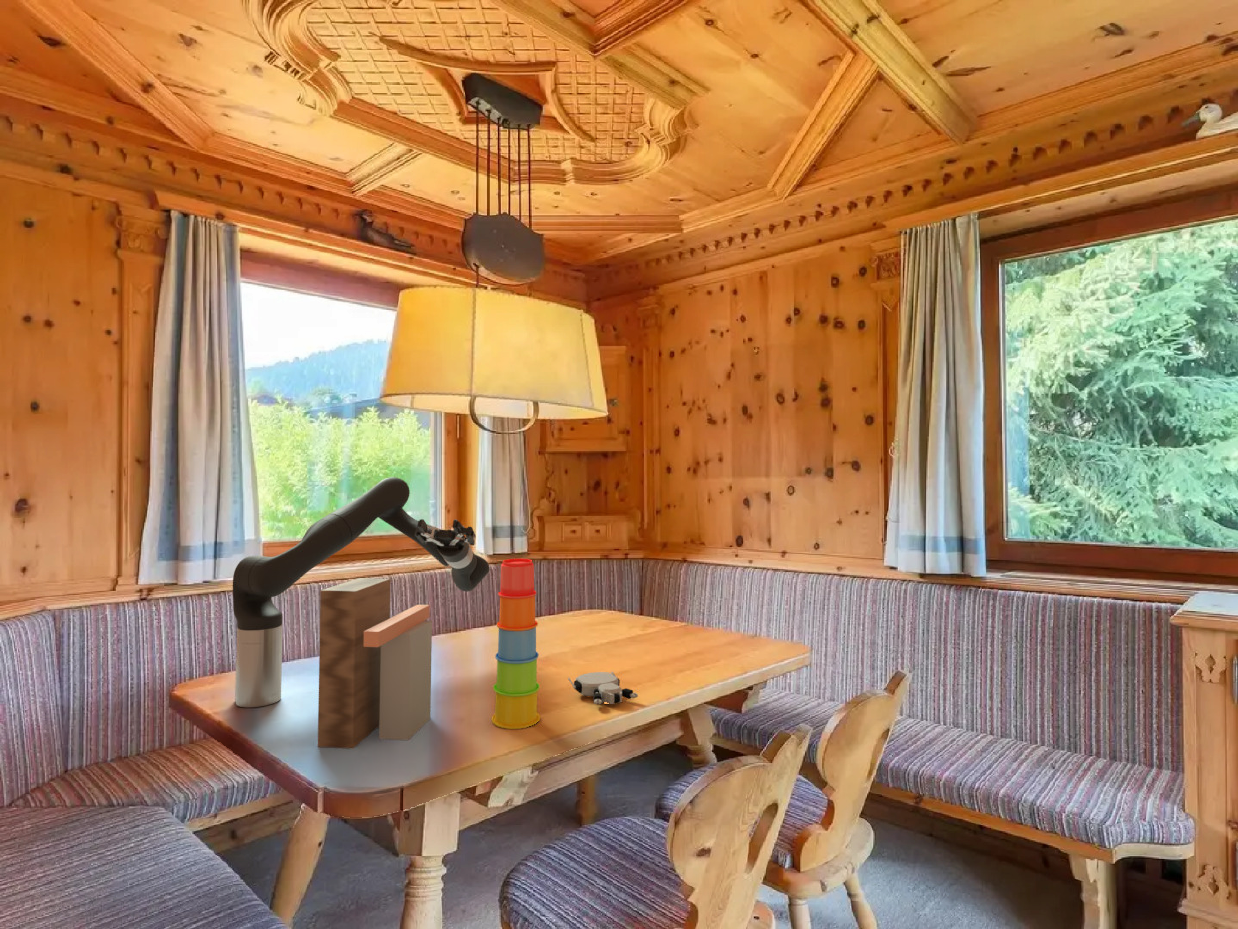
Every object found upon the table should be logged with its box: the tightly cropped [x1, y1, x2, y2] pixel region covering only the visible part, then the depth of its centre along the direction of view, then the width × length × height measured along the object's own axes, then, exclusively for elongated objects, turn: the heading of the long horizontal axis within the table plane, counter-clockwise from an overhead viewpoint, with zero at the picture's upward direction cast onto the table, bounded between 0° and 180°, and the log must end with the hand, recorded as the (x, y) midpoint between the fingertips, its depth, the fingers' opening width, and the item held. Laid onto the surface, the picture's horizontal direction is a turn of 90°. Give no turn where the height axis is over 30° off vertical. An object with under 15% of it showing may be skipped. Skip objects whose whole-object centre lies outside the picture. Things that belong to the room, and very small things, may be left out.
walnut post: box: [317, 577, 391, 749], centre depth 137 cm, size 7×16×30 cm, turn 175°
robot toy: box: [567, 670, 639, 705], centre depth 160 cm, size 12×4×15 cm
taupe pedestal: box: [378, 620, 433, 741], centre depth 140 cm, size 6×12×21 cm, turn 175°
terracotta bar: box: [364, 604, 431, 647], centre depth 136 cm, size 3×26×3 cm, turn 176°
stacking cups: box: [491, 557, 541, 730], centre depth 145 cm, size 10×10×35 cm
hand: (437, 522), depth 164 cm, fingers open, 8 cm apart
